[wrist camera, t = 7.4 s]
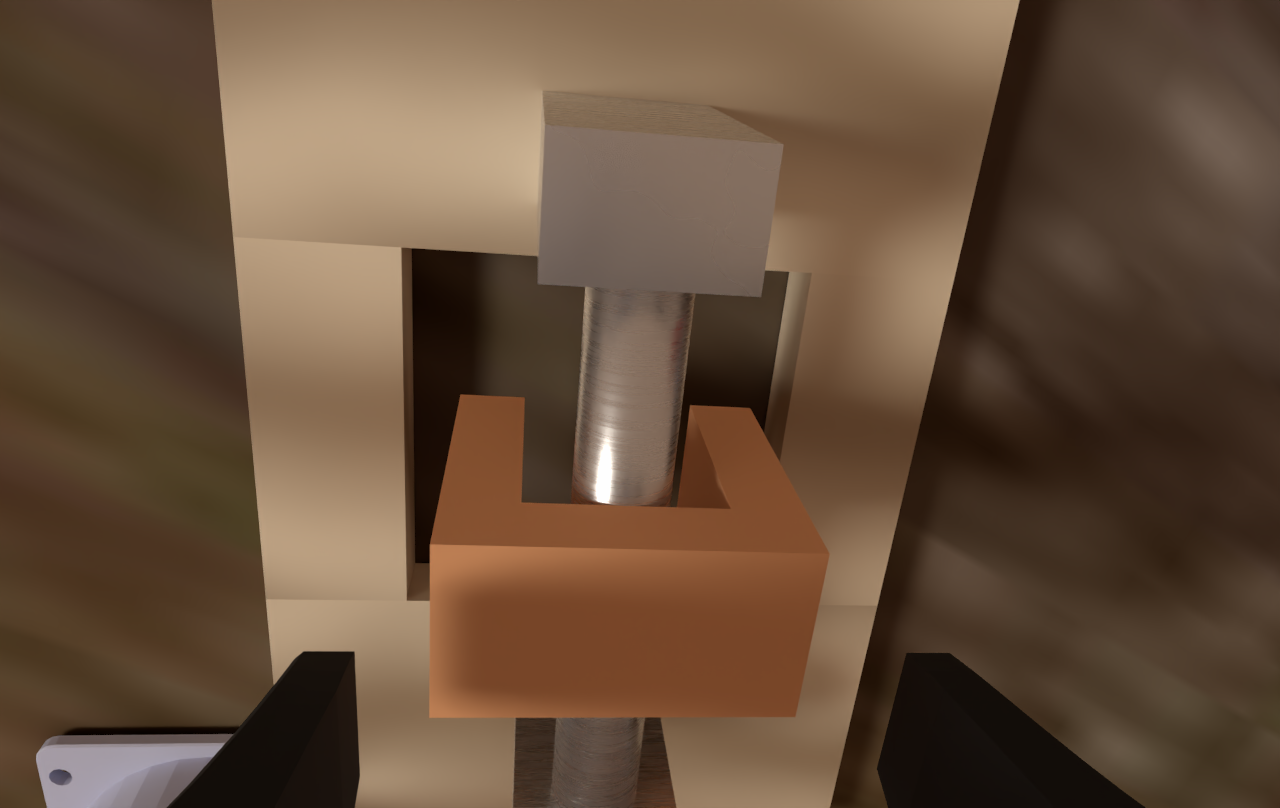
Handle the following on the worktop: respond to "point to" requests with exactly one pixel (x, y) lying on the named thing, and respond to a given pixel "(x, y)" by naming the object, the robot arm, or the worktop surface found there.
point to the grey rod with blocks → (635, 351)
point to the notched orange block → (620, 583)
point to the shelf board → (507, 224)
